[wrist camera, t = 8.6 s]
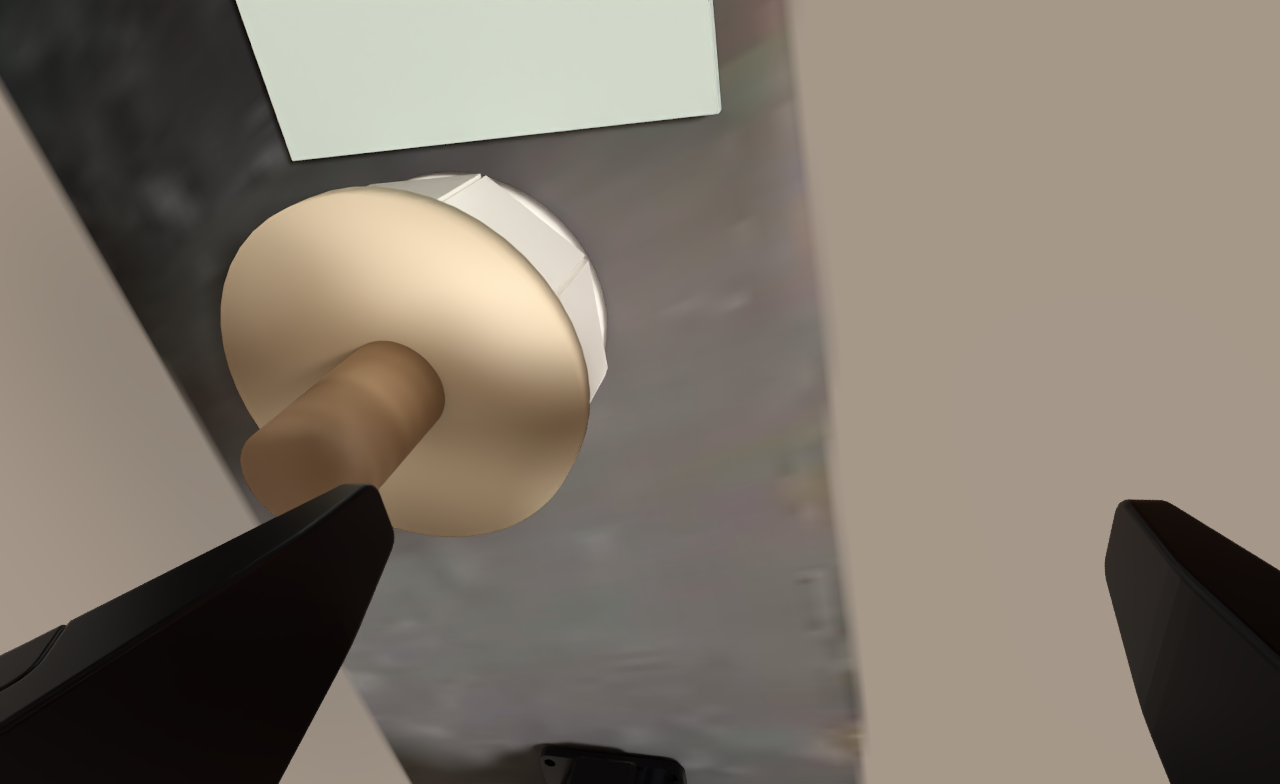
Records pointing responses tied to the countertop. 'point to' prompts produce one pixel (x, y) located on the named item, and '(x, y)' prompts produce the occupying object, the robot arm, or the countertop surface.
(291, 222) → the lid
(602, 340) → the white octagonal pot
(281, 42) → the mat
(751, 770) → the countertop surface
